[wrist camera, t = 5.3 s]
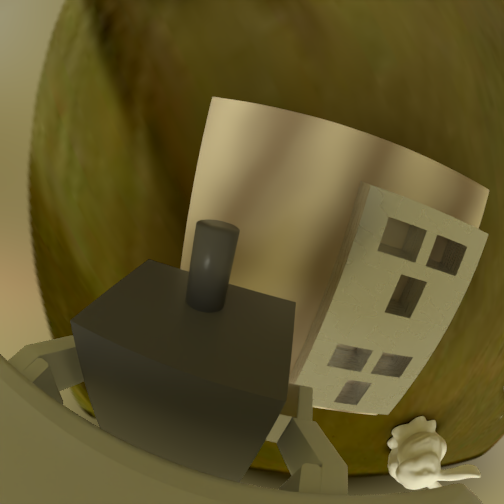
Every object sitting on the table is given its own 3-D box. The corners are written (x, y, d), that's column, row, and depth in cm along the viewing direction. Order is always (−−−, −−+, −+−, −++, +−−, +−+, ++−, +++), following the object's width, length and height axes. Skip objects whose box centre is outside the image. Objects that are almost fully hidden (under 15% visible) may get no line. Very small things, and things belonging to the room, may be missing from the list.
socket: (469, 224, 15) (488, 234, 13) (383, 394, 20) (388, 414, 18) (360, 181, 16) (371, 184, 13) (288, 378, 21) (286, 400, 19)
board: (475, 186, 16) (489, 190, 14) (373, 400, 23) (376, 415, 21) (220, 102, 17) (212, 96, 15) (178, 355, 25) (170, 368, 23)
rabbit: (382, 419, 24) (397, 509, 13) (456, 392, 22) (489, 471, 11) (385, 461, 27) (392, 529, 16) (444, 440, 25) (462, 504, 14)
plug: (314, 223, 11) (327, 314, 5) (261, 382, 14) (235, 488, 8) (178, 189, 11) (61, 232, 5) (162, 350, 14) (104, 437, 8)
